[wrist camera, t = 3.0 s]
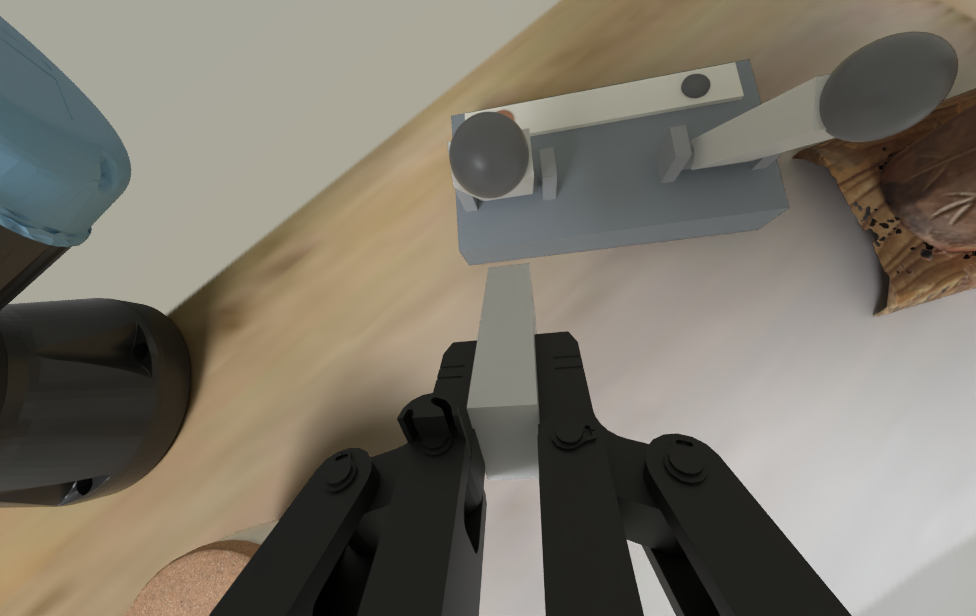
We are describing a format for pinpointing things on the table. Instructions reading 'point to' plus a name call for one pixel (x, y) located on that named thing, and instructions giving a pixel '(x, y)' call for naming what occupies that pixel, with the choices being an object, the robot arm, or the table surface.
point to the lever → (841, 103)
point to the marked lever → (492, 158)
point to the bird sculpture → (915, 199)
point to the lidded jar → (200, 576)
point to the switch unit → (625, 170)
